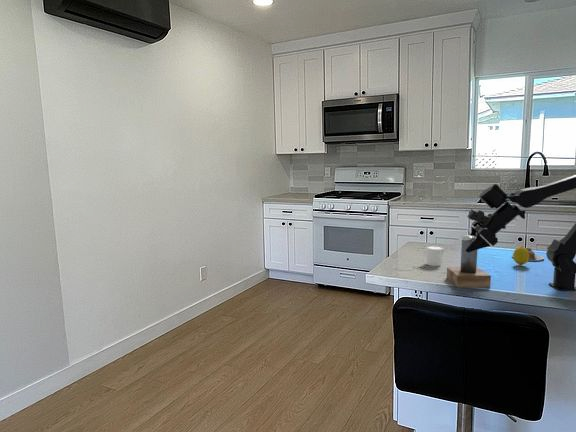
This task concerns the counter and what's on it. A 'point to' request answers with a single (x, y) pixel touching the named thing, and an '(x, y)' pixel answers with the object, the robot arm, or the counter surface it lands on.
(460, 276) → the walnut block
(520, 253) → the lemon
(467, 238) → the tea tin
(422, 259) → the counter surface
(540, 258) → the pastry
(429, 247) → the shot glass
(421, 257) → the counter surface
